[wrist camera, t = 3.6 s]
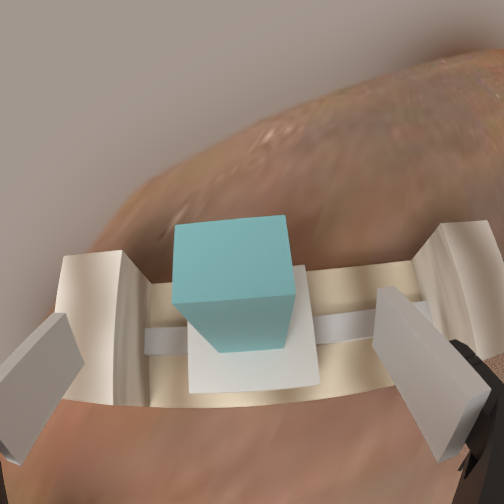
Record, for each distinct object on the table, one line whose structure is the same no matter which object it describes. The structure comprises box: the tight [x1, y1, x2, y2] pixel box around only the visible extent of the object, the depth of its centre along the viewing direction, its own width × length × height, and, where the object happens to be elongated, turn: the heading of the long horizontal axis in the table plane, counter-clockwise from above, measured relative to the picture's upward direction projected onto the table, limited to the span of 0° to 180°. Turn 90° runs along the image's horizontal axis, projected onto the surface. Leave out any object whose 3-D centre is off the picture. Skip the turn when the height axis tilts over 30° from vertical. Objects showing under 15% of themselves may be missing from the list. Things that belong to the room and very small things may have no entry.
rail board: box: [55, 220, 504, 408], centre depth 21 cm, size 32×10×8 cm, turn 94°
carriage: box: [172, 215, 320, 394], centre depth 16 cm, size 8×8×13 cm
